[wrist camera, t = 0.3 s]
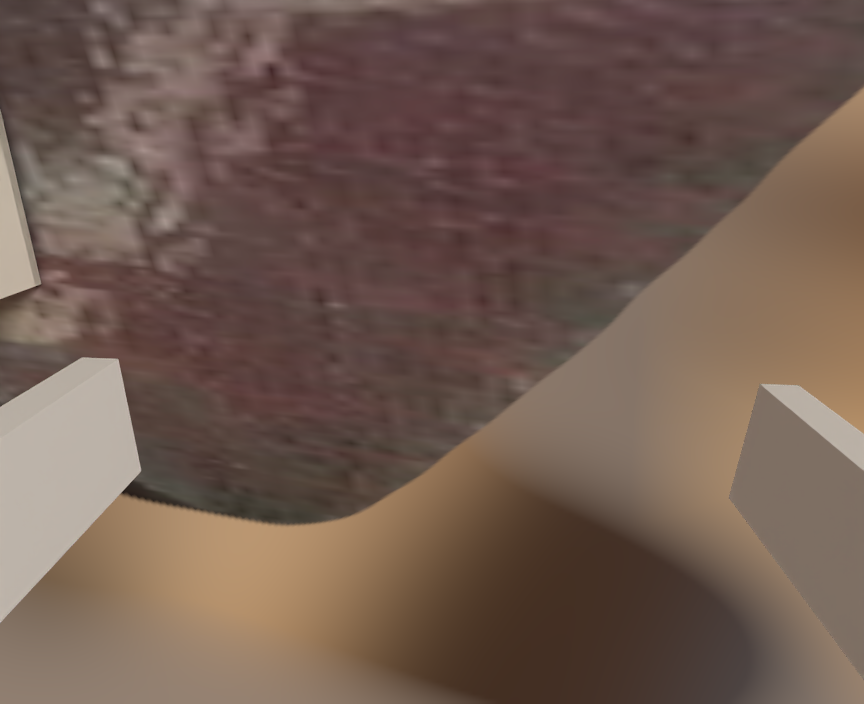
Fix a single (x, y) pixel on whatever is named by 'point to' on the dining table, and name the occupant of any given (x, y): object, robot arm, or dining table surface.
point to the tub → (13, 230)
